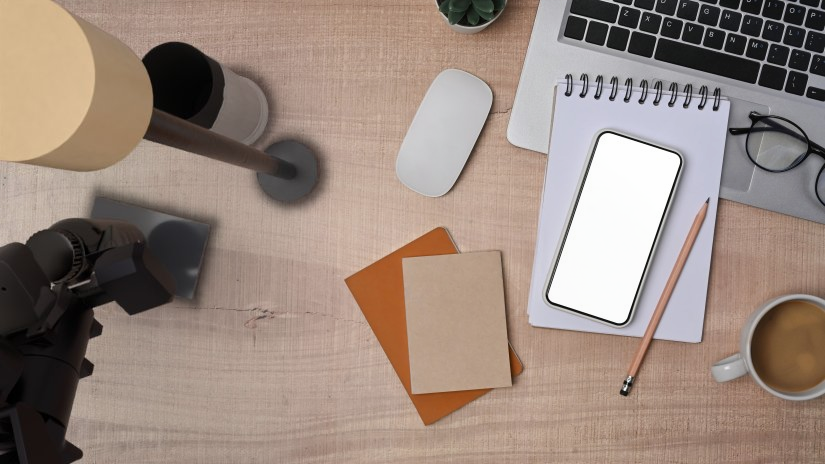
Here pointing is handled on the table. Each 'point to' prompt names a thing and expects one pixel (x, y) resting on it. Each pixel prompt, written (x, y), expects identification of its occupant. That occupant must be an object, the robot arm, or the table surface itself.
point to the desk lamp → (107, 105)
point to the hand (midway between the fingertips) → (79, 239)
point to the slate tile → (165, 239)
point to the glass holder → (205, 92)
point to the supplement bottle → (75, 246)
